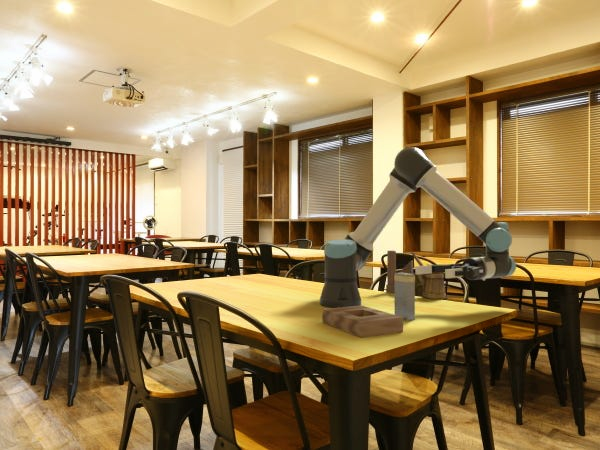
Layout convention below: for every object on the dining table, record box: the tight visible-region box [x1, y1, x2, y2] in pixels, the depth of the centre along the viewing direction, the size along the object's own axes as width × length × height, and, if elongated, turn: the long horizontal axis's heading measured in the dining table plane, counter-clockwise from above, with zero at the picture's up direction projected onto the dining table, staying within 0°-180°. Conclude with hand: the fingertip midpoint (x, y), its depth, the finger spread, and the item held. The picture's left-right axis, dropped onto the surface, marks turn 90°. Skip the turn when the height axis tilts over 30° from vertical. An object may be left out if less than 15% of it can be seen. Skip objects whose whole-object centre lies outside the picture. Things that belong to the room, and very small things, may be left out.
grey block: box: [394, 272, 416, 322], centre depth 143 cm, size 6×3×14 cm, turn 27°
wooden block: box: [385, 250, 414, 294], centre depth 194 cm, size 4×11×18 cm, turn 66°
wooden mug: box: [411, 252, 447, 300], centre depth 184 cm, size 9×14×18 cm, turn 71°
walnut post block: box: [321, 304, 404, 338], centre depth 131 cm, size 20×14×4 cm
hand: (430, 272), depth 147 cm, fingers open, 13 cm apart
